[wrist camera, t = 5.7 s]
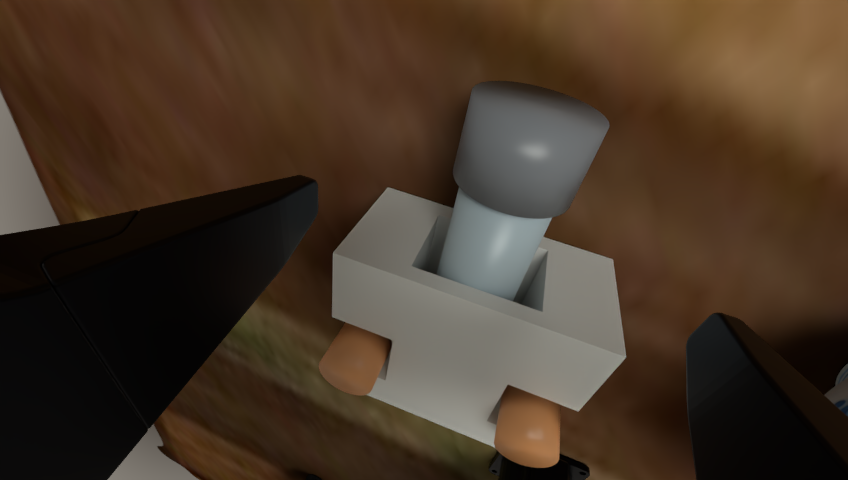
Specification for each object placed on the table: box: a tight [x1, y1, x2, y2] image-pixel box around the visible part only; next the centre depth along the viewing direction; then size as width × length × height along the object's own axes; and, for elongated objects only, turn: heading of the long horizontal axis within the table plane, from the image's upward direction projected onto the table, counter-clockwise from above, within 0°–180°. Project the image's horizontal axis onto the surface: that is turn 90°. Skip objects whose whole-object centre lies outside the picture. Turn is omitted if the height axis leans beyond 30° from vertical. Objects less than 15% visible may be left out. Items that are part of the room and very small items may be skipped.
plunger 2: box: [494, 385, 561, 468], centre depth 17 cm, size 3×3×2 cm
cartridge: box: [436, 81, 609, 301], centre depth 17 cm, size 16×5×5 cm, turn 170°
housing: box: [332, 187, 626, 447], centre depth 20 cm, size 10×12×6 cm
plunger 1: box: [319, 322, 392, 396], centre depth 19 cm, size 3×3×2 cm
